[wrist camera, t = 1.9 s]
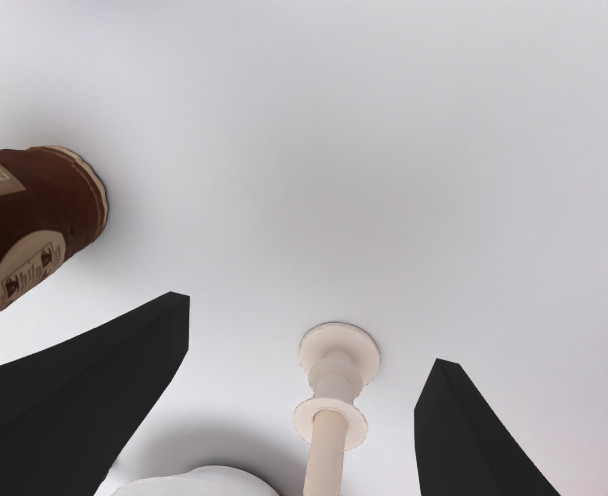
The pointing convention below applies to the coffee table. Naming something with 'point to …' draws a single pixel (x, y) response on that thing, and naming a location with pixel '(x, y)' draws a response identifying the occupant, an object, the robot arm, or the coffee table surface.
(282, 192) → the coffee table surface
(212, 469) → the bowl
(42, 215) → the coffee cup
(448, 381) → the robot arm
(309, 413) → the candle
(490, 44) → the coffee table surface
